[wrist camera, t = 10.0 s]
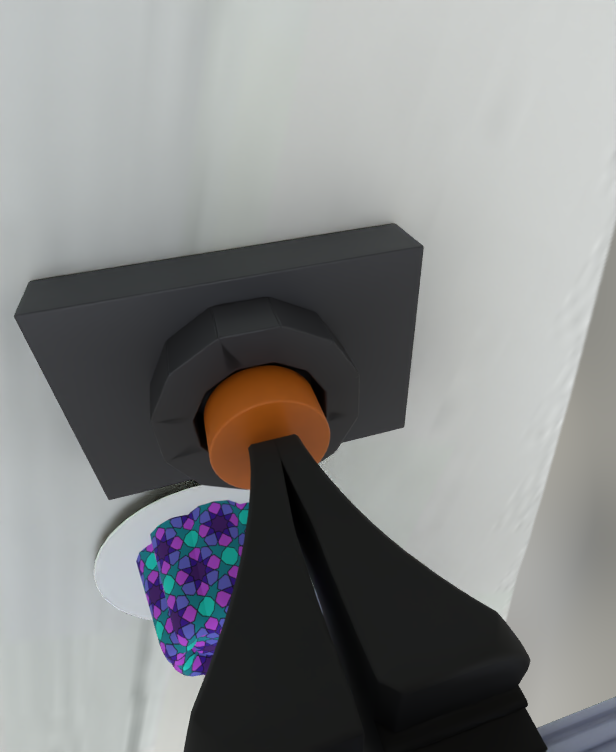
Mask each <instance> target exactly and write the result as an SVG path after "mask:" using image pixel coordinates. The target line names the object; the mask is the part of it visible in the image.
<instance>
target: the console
mask: <svg viewBox="0 0 616 752" xmlns="http://www.w3.org/2000/svg"><path fill="white" fill-rule="evenodd" d="M422 257H423V245H421V244H420V243H419V242H418V241H416V240H415V239H414V238H413V237H411V236H410V235H409V234H408V233H406V232H405V231H404V230H403V229H401V228H400V227H399V226H398V225H396V224H389V225H382V226H376V227H370V228H363V229H357V230H351V231H345V232H338V233H332V234H326V235H319V236H313V237H307V238H300V239H294V240H288V241H282V242H275V243H269V244H263V245H256V246H250V247H244V248H237V249H231V250H225V251H218V252H212V253H206V254H200V255H193V256H187V257H181V258H174V259H168V260H162V261H155V262H149V263H143V264H137V265H130V266H124V267H118V268H111V269H105V270H99V271H92V272H86V273H80V274H73V275H67V276H61V277H55V278H48V279H42V280H36V281H30V282H29V283H28V285H27V288H26V290H25V292H24V295H23V297H22V299H21V301H20V304H19V306H18V308H17V310H16V313H15V315H14V317H15V319H16V321H17V323H18V325H19V327H20V329H21V331H22V333H23V335H24V337H25V339H26V341H27V343H28V345H29V347H30V348H31V350H32V352H33V354H34V356H35V358H36V360H37V362H38V364H39V366H40V368H41V370H42V372H43V374H44V376H45V378H46V379H47V381H48V383H49V385H50V387H51V389H52V391H53V393H54V395H55V397H56V399H57V401H58V403H59V405H60V407H61V409H62V410H63V412H64V414H65V416H66V418H67V420H68V422H69V424H70V426H71V428H72V430H73V432H74V434H75V436H76V438H77V440H78V441H79V443H80V445H81V447H82V449H83V451H84V453H85V455H86V457H87V459H88V461H89V463H90V465H91V467H92V469H93V471H94V472H95V474H96V476H97V478H98V480H99V482H100V484H101V486H102V488H103V490H104V492H105V494H106V496H107V498H108V499H109V500H112V499H116V498H120V497H124V496H128V495H132V494H136V493H140V492H144V491H148V490H152V489H156V488H160V487H164V486H168V485H172V484H177V483H181V482H185V481H189V480H194V481H196V482H197V483H199V484H200V485H204V486H213V487H223V488H232V489H242V488H238V487H235V486H232V485H230V484H228V483H226V482H225V481H223V480H222V479H221V478H220V477H219V476H218V475H217V474H216V473H215V471H214V470H213V468H212V466H211V463H210V458H209V452H208V445H207V438H206V432H205V425H204V409H205V405H206V403H207V400H208V398H209V397H210V395H211V393H212V392H213V391H214V389H215V388H216V387H217V386H218V385H219V384H220V383H221V382H223V381H224V380H225V379H226V378H228V377H230V376H231V375H233V374H235V373H237V372H239V371H242V370H244V369H247V368H251V367H255V366H263V365H273V366H281V367H285V368H288V369H291V370H293V371H295V372H297V373H299V374H300V375H302V376H303V377H304V378H305V379H306V380H307V381H308V383H309V384H310V385H311V387H312V389H313V391H314V394H315V396H316V398H317V400H318V402H319V404H320V407H321V409H322V411H323V413H324V415H325V417H326V420H327V422H328V425H329V428H330V441H329V446H328V448H327V451H326V453H325V455H324V456H323V458H322V459H321V461H323V460H324V459H326V458H327V457H329V456H330V455H332V454H333V453H334V452H335V451H336V450H337V449H338V447H339V446H340V444H341V443H343V442H347V441H351V440H355V439H359V438H363V437H367V436H371V435H375V434H379V433H383V432H387V431H391V430H395V429H399V428H403V427H404V424H405V415H406V405H407V396H408V387H409V378H410V368H411V359H412V350H413V341H414V331H415V322H416V313H417V304H418V294H419V285H420V276H421V267H422ZM321 461H320V462H321ZM320 462H319V463H320ZM242 490H248V489H242Z"/></svg>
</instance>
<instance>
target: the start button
mask: <svg viewBox="0 0 616 752" xmlns="http://www.w3.org/2000/svg"><path fill="white" fill-rule="evenodd" d="M204 425H205V432H206V438H207V445H208V452H209V458H210V463H211V466H212V468H213V470H214V471H215V473H216V474H217V475H218V476H219V477H220V478H221V479H222V480H223V481H225V482H226V483H228V484H230V485H232V486H235V487H238V488H242V489H248V490H250V478H251V469H250V456H249V451H248V448H249V446H250V445H251V444H255V443H259V442H263V441H267V440H271V439H276V438H280V437H284V436H288V435H292V434H296V435H297V436H299V438H300V439H301V441H302V443H303V444H304V446H305V447H306V449H307V450H308V452H309V453H310V454H311V456H312V457H313V458H314V460H315V461H316V462H317V464H318V463H319V462H320V461H321V459H322V458H323V456H324V455H325V453H326V451H327V448H328V446H329V441H330V428H329V425H328V422H327V420H326V417H325V415H324V413H323V411H322V409H321V407H320V404H319V402H318V400H317V398H316V396H315V394H314V391H313V389H312V387H311V385H310V384H309V383H308V381H307V380H306V379H305V378H304V377H303V376H302V375H300V374H299V373H297V372H295V371H293V370H291V369H288V368H285V367H281V366H273V365H263V366H255V367H251V368H247V369H244V370H242V371H239V372H237V373H235V374H233V375H231V376H230V377H228V378H226V379H225V380H224V381H223V382H221V383H220V384H219V385H218V386H217V387H216V388H215V389H214V391H213V392H212V393H211V395H210V397H209V398H208V400H207V403H206V405H205V409H204Z"/></svg>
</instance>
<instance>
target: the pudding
mask: <svg viewBox="0 0 616 752" xmlns="http://www.w3.org/2000/svg"><path fill="white" fill-rule="evenodd" d="M249 497H250V490H242V489H232V488H223V487H213V486H204V485H200V486H196V487H192V488H187V489H185V490H182V491H179V492H176V493H174V494H171V495H168V496H166V497H163V498H161V499H159V500H157V501H155V502H153V503H151V504H150V505H148V506H146V507H144V508H142V509H141V510H139V511H138V512H136V513H135V514H133V515H132V516H130V517H129V518H128V519H126V520H125V521H124V522H123V523H121V524H120V525H119V526H118V527H117V528H116V529H115V530H114V531H113V532H112V533H111V534H110V535H109V537H108V538H107V540H106V541H105V542H104V544H103V545H102V547H101V548H100V550H99V553H98V555H97V558H96V560H95V565H94V579H95V583H96V587H97V589H98V590H99V592H100V593H101V595H102V596H103V598H104V599H105V600H106V601H108V602H109V603H110V604H111V605H112V606H113V607H115V608H117V609H119V610H121V611H123V612H124V613H126V614H129V615H132V616H135V617H138V618H141V619H147V620H152V621H153V622H154V626H155V629H156V633H157V636H158V640H159V643H160V646H161V649H162V651H163V653H164V655H165V657H166V658H167V660H168V661H169V662H170V663H172V665H173V667H174V668H175V669H176V670H177V671H178V672H180V673H181V674H183V675H186V676H198V675H203V674H204V675H206V673H207V670H208V668H209V665H210V662H211V659H212V657H213V654H214V651H215V648H216V645H217V642H218V639H219V636H220V633H221V630H222V627H223V624H224V620H225V617H226V614H227V610H228V607H229V603H230V600H231V596H232V592H233V588H234V585H235V581H236V577H237V572H238V568H239V563H240V559H241V554H242V549H243V543H244V537H245V531H246V524H247V517H248V509H249Z"/></svg>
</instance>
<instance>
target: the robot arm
mask: <svg viewBox="0 0 616 752" xmlns="http://www.w3.org/2000/svg"><path fill="white" fill-rule="evenodd" d="M248 451H249V456H250V469H251V478H250V497H249V509H248V517H247V524H246V531H245V537H244V543H243V549H242V554H241V559H240V563H239V568H238V572H237V577H236V581H235V585H234V588H233V592H232V596H231V600H230V603H229V607H228V610H227V614H226V617H225V620H224V624H223V627H222V630H221V633H220V636H219V639H218V642H217V645H216V648H215V651H214V654H213V657H212V659H211V662H210V665H209V668H208V670H207V673H206V675H205V678H204V681H203V683H202V686H201V688H200V691H199V693H198V696H197V698H196V701H195V703H194V706H193V709H192V711H191V716H190V721H189V726H188V731H187V736H186V741H185V747H184V752H616V697H613V698H611V699H609V700H606V701H603V702H601V703H598V704H596V705H593V706H591V707H589V708H586V709H583V710H581V711H578V712H576V713H573V714H571V715H569V716H566V717H563V718H561V719H558V720H556V721H553V722H551V723H548V724H546V725H543V726H541V727H538V728H536V726H535V725H534V723H533V722H532V719H531V717H530V716H529V714H528V712H527V710H526V708H525V707H527V706H528V703H527V700H526V698H525V696H524V695H523V693H522V691H521V689H520V688H519V686H518V684H519V683H520V681H521V680H522V678H523V676H524V675H525V673H526V672H527V670H528V667H529V664H530V658H529V656H528V654H527V652H526V650H525V649H524V647H523V645H522V644H521V642H520V641H519V640H518V638H517V637H516V635H515V634H514V633H513V631H512V630H511V629H510V627H509V626H508V625H507V623H506V622H505V621H504V620H503V619H502V617H501V616H500V615H499V614H498V613H497V612H496V611H494V610H493V609H491V608H489V607H488V606H486V605H484V604H483V603H481V602H479V601H477V600H476V599H474V598H473V597H471V596H469V595H468V594H466V593H464V592H463V591H461V590H460V589H458V588H457V587H455V586H454V585H452V584H451V583H449V582H448V581H446V580H445V579H443V578H442V577H440V576H439V575H437V574H436V573H434V572H433V571H432V570H430V569H429V568H428V567H426V566H425V565H423V564H422V563H421V562H419V561H418V560H417V559H415V558H414V557H413V556H411V555H410V554H409V553H407V552H406V551H405V550H403V549H402V548H401V547H400V546H398V545H397V544H396V543H395V542H394V541H392V540H391V539H390V538H389V537H388V536H386V535H385V534H384V533H383V532H382V531H381V530H380V529H378V528H377V527H376V526H375V525H374V524H373V523H372V522H371V521H370V520H369V519H368V518H367V517H365V516H364V515H363V514H362V513H361V512H360V511H359V510H358V509H357V508H356V507H355V506H354V505H353V504H352V503H351V502H350V501H349V500H348V498H347V497H346V496H345V495H344V494H343V493H342V492H341V491H340V490H339V489H338V487H337V486H336V485H335V484H334V483H333V482H332V481H331V480H330V478H329V477H328V476H327V475H326V474H325V472H324V471H323V470H322V469H321V468H320V466H319V465H318V464H317V462H316V461H315V460H314V458H313V457H312V456H311V454H310V453H309V452H308V450H307V449H306V447H305V446H304V444H303V443H302V441H301V439H300V438H299V436H297V435H296V434H292V435H288V436H284V437H280V438H276V439H271V440H267V441H263V442H259V443H255V444H251V445H250V446H249V448H248ZM311 580H312V581H311ZM312 583H313V584H312ZM313 586H314V587H313ZM314 588H315V589H314Z"/></svg>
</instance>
